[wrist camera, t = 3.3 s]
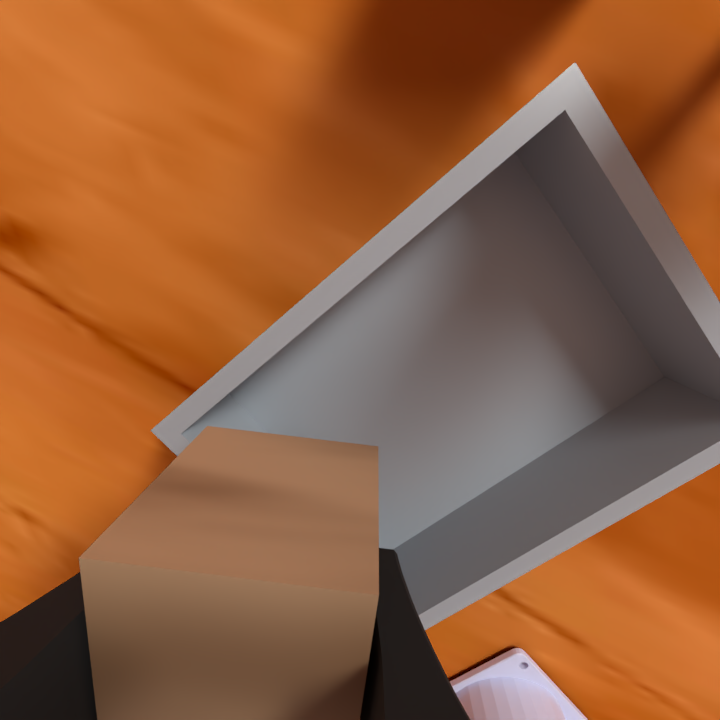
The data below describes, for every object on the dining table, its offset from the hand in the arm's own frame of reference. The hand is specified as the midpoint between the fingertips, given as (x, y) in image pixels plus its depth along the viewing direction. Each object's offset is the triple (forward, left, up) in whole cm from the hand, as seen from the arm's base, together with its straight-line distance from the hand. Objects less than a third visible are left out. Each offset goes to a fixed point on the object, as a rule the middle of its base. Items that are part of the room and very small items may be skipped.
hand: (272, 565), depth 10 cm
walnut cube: (0, 0, -2) cm, 2 cm away
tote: (-2, -6, -9) cm, 11 cm away
